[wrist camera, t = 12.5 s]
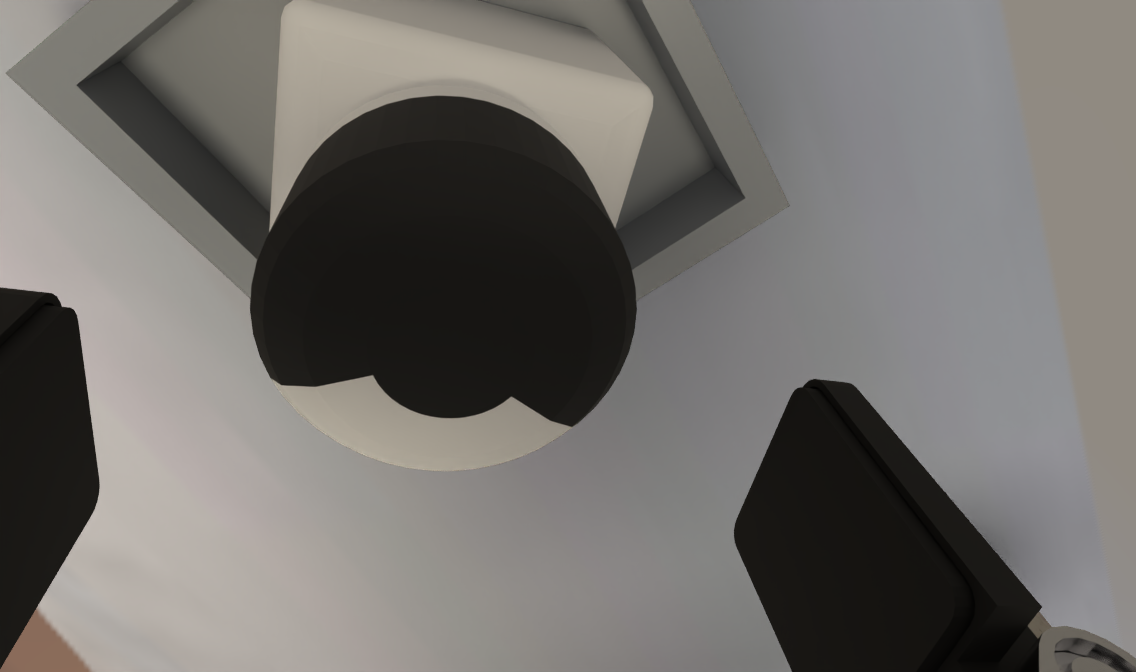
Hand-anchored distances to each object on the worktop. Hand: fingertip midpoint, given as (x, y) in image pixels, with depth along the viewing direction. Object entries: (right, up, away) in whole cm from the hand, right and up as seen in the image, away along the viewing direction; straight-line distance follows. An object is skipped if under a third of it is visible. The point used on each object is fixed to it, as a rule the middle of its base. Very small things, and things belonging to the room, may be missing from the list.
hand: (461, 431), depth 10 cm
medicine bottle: (-2, +7, +11) cm, 14 cm away
